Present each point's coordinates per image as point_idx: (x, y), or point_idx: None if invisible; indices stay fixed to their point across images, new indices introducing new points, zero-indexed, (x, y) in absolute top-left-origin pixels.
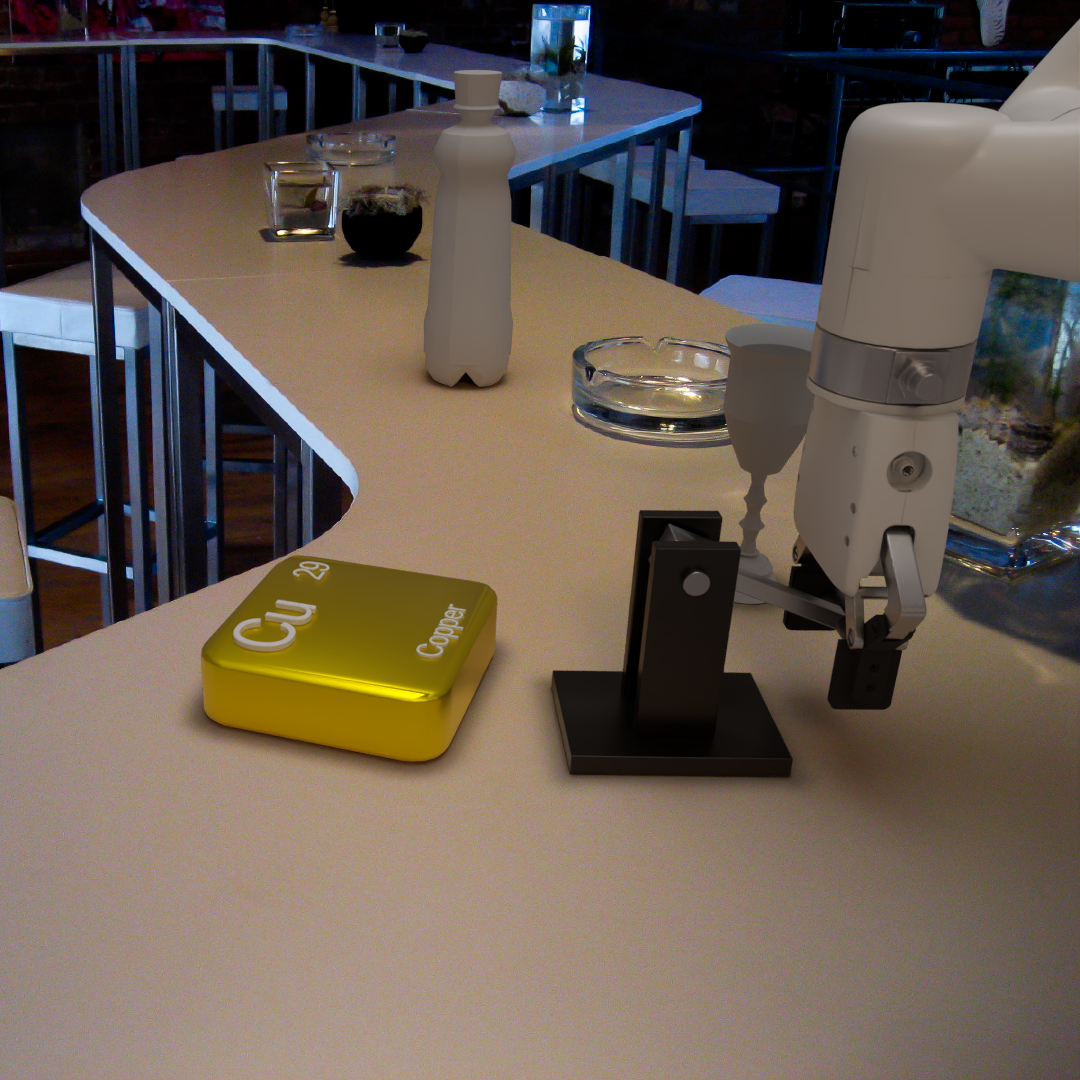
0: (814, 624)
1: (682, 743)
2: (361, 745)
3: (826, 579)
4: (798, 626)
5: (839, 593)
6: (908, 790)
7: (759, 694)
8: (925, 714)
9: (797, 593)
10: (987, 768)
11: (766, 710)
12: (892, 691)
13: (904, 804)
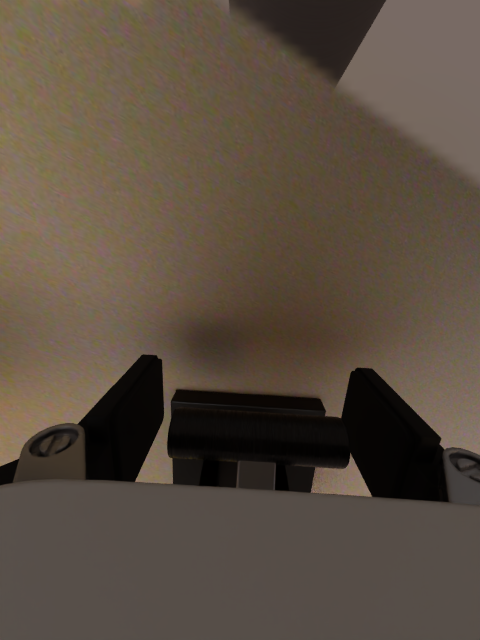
0: (160, 393)
1: (290, 484)
2: None
3: (125, 443)
4: (162, 410)
5: (191, 448)
6: (354, 304)
7: (213, 405)
8: (222, 225)
9: None
10: (331, 202)
11: (243, 408)
12: (381, 380)
13: (374, 317)
